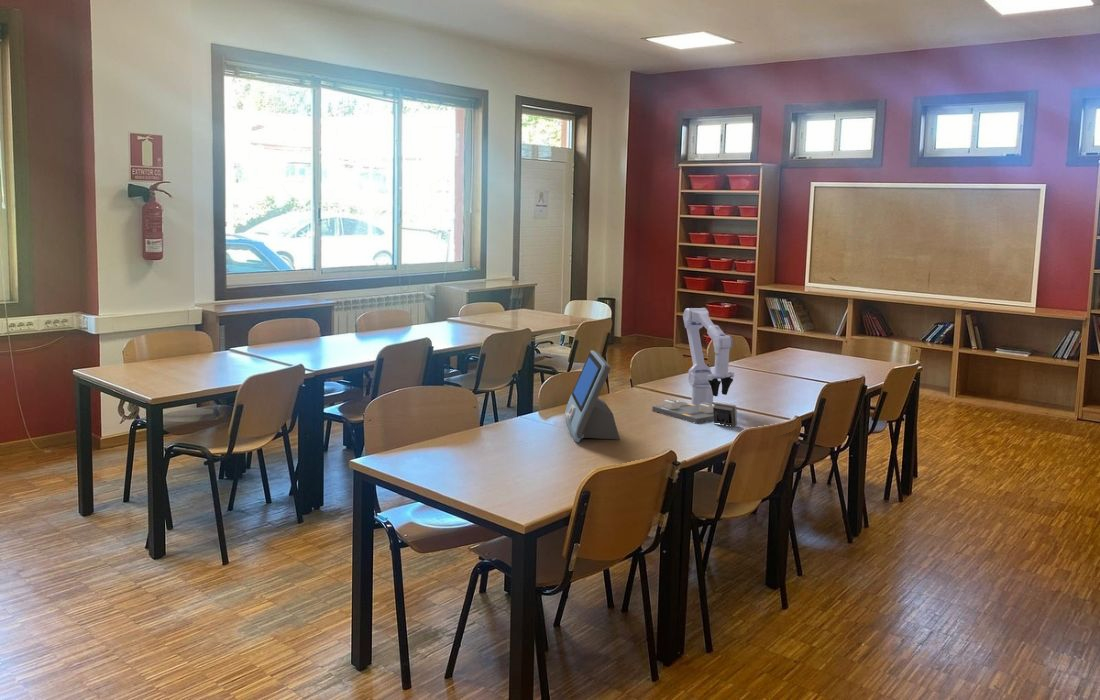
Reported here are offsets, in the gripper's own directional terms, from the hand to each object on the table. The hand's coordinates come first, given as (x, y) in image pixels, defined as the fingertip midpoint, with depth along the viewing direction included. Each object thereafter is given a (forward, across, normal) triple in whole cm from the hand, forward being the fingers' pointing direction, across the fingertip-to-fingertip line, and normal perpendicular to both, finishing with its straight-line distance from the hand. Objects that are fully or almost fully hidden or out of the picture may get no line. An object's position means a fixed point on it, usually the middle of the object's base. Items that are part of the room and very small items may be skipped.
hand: (719, 395), depth 368 cm
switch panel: (+8, -12, +6) cm, 16 cm away
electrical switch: (+9, -12, -14) cm, 21 cm away
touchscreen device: (+9, -66, +6) cm, 67 cm away
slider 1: (+6, -15, +13) cm, 21 cm away
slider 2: (+6, -7, 0) cm, 10 cm away
